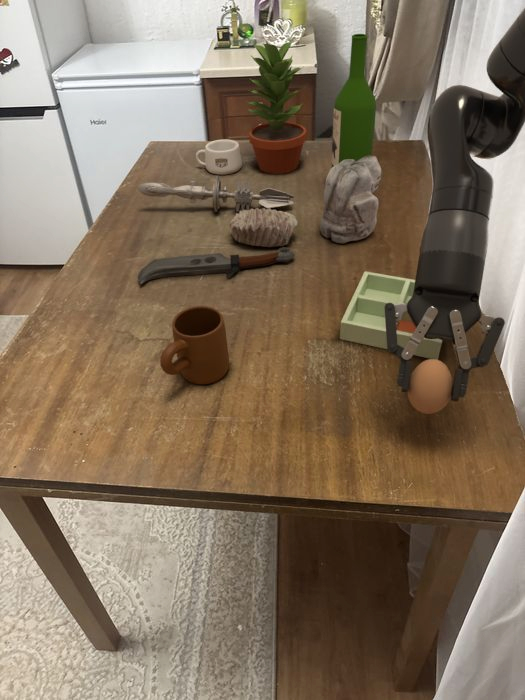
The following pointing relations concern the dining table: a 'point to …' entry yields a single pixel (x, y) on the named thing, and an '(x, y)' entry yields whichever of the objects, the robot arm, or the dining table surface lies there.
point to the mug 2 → (221, 157)
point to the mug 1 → (197, 346)
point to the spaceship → (219, 194)
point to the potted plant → (276, 113)
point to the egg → (430, 386)
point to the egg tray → (382, 314)
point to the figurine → (351, 200)
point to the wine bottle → (354, 110)
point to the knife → (209, 264)
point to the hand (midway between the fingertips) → (429, 395)
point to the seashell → (263, 227)
